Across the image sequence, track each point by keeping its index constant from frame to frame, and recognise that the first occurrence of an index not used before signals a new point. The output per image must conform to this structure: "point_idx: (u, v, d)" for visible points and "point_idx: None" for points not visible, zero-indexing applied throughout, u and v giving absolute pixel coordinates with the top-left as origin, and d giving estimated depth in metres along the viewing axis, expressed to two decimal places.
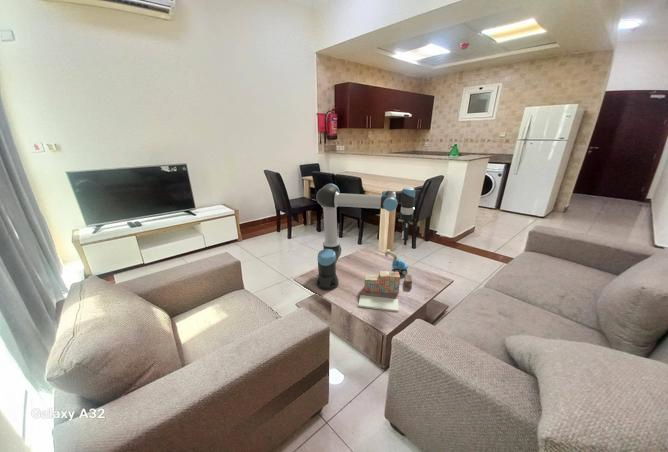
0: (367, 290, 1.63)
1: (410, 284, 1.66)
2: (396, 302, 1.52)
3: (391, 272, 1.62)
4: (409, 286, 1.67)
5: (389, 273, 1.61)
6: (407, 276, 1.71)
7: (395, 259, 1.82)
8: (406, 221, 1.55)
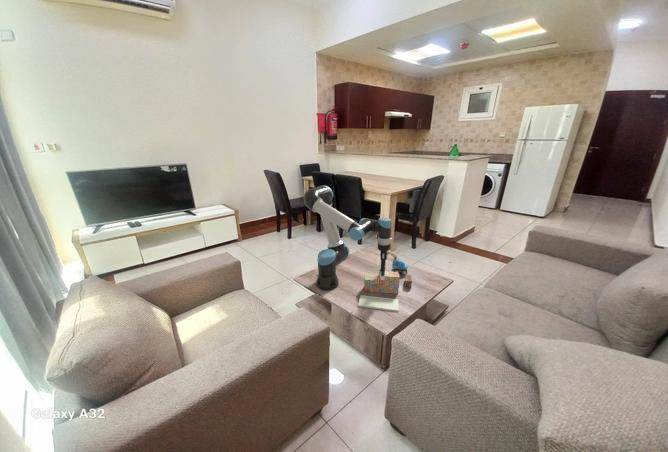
0: (367, 290, 1.63)
1: (410, 284, 1.66)
2: (396, 302, 1.52)
3: (391, 272, 1.62)
4: (409, 286, 1.67)
5: (389, 273, 1.61)
6: (407, 276, 1.71)
7: (395, 259, 1.82)
8: (383, 252, 1.52)
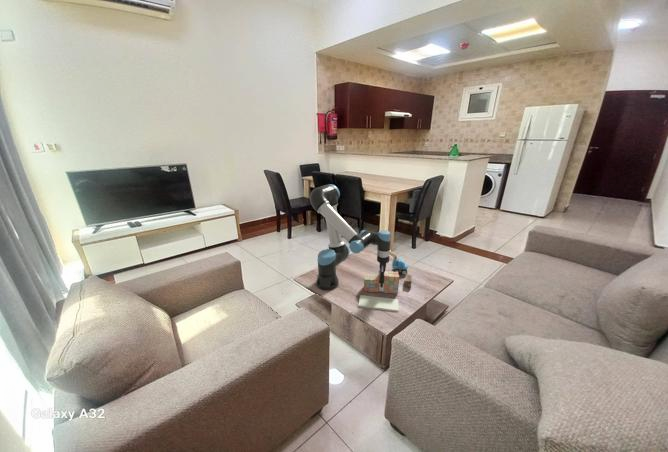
0: (366, 290, 1.63)
1: (409, 284, 1.66)
2: (396, 302, 1.52)
3: (391, 272, 1.62)
4: (408, 286, 1.67)
5: (388, 273, 1.61)
6: (407, 276, 1.71)
7: (395, 259, 1.82)
8: (382, 264, 1.55)
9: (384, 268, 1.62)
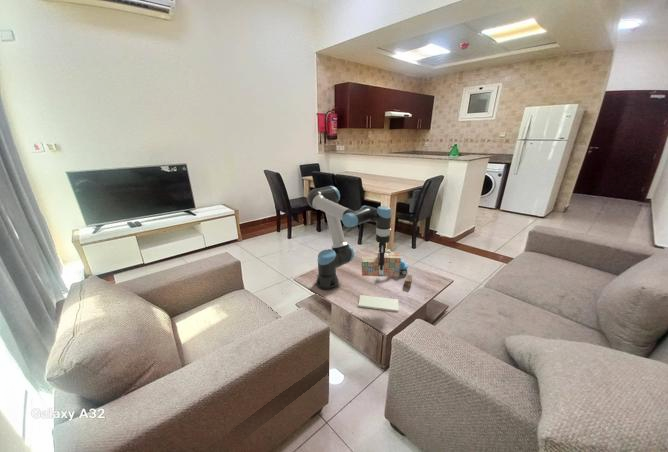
0: (364, 274, 1.48)
1: (409, 284, 1.66)
2: (396, 302, 1.52)
3: (391, 254, 1.46)
4: (408, 286, 1.67)
5: (389, 254, 1.46)
6: (407, 276, 1.71)
7: None
8: (382, 243, 1.39)
9: None
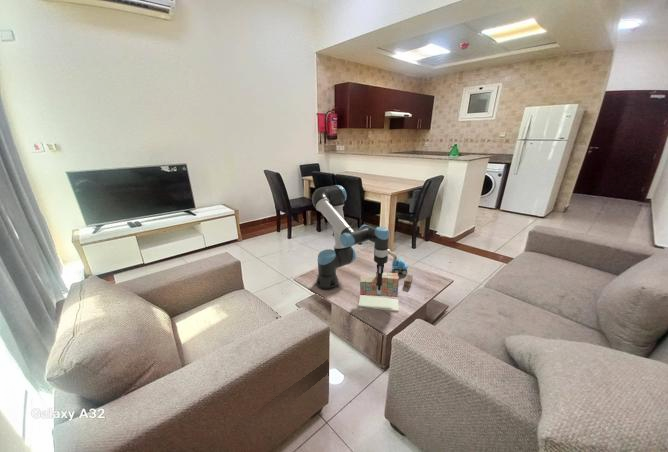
0: (362, 293, 1.48)
1: (409, 284, 1.66)
2: (396, 302, 1.52)
3: (390, 274, 1.46)
4: (408, 286, 1.67)
5: (387, 274, 1.45)
6: (408, 276, 1.71)
7: (395, 259, 1.82)
8: (380, 264, 1.39)
9: None
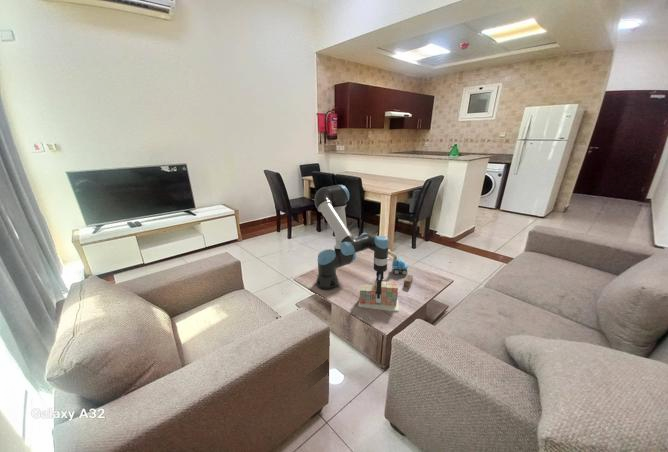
0: (362, 301, 1.51)
1: (408, 284, 1.66)
2: None
3: (389, 283, 1.49)
4: (407, 286, 1.67)
5: (386, 284, 1.49)
6: (408, 276, 1.71)
7: (395, 259, 1.82)
8: (379, 272, 1.41)
9: None
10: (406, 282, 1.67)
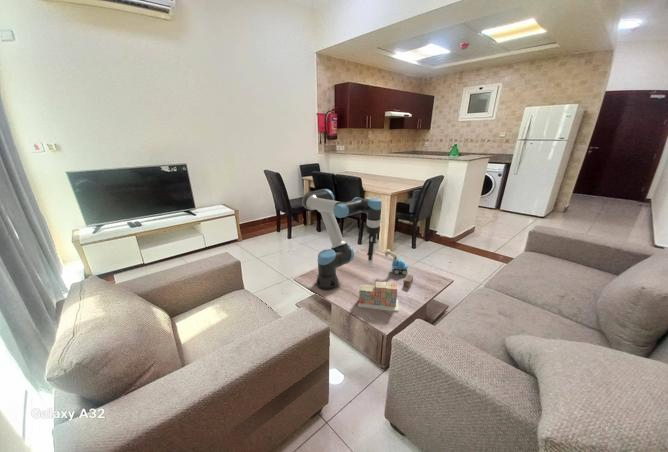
0: (361, 301, 1.51)
1: (408, 284, 1.66)
2: (396, 302, 1.52)
3: (389, 284, 1.48)
4: (407, 286, 1.67)
5: (386, 284, 1.48)
6: (408, 276, 1.71)
7: (395, 259, 1.82)
8: (372, 234, 1.43)
9: None
10: (406, 282, 1.67)
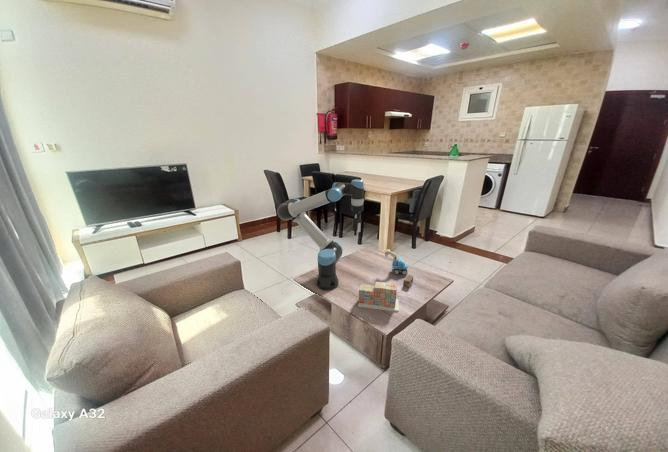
0: (361, 301, 1.51)
1: (408, 284, 1.66)
2: (396, 302, 1.52)
3: (388, 284, 1.48)
4: (407, 286, 1.67)
5: (385, 285, 1.47)
6: (408, 276, 1.71)
7: (395, 259, 1.82)
8: (356, 212, 1.59)
9: (359, 217, 1.68)
10: (405, 282, 1.67)
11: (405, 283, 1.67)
